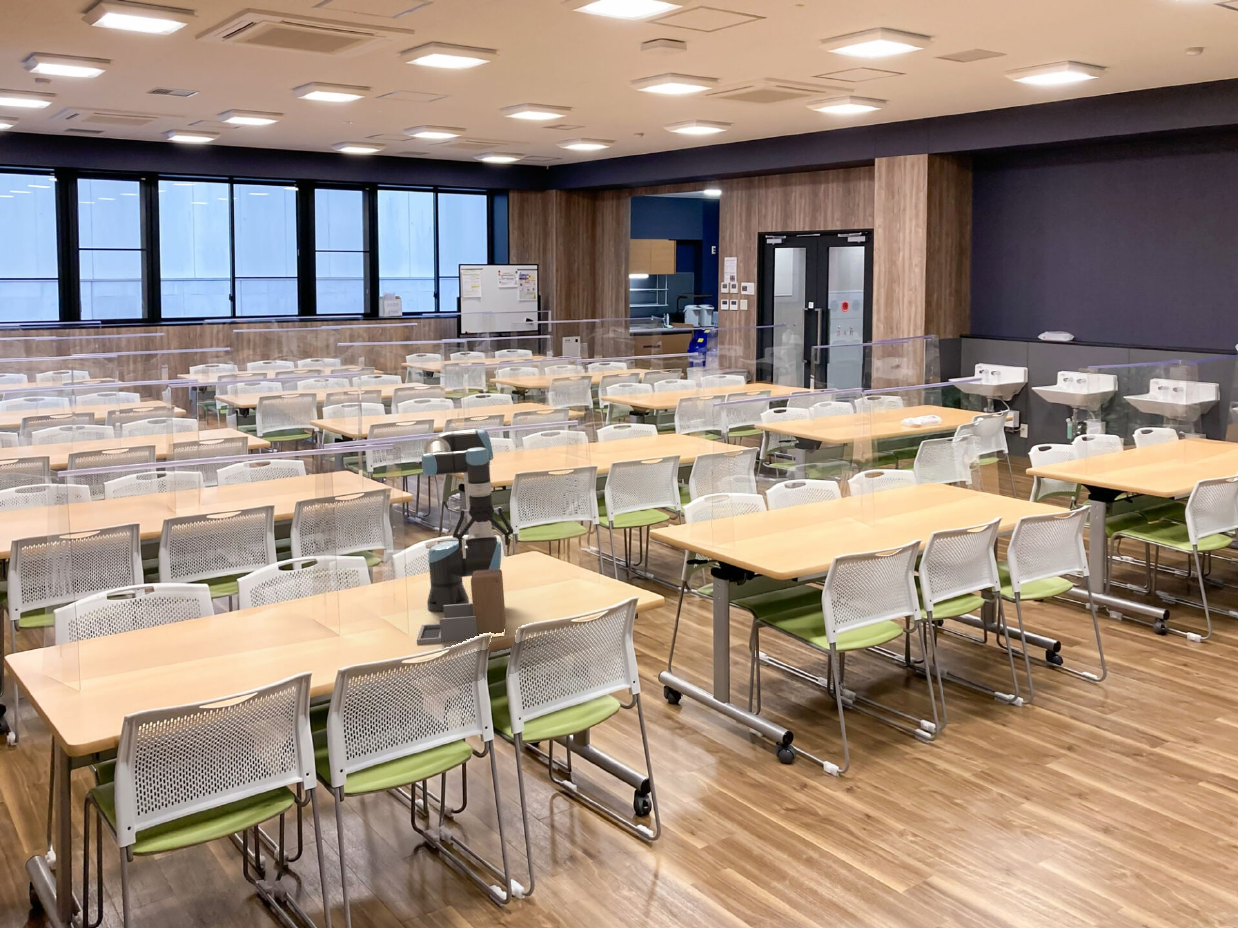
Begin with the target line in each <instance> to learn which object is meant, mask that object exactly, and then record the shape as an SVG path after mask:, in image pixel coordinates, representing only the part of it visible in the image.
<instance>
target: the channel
mask: <svg viewBox="0 0 1238 928" xmlns="http://www.w3.org/2000/svg"><path fill="white" fill-rule="evenodd" d="M443 608H444V612H443V618H439V619H438V620H439V624H440V632H441V643H452V642H453V643H454V641H456V642H466V641H465V640H466V639H470V638H474V637H475V636H478V634H477V624H476V616H473V603H470V602H469V604H454V605H443Z"/></svg>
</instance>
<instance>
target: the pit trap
mask: <svg viewBox="0 0 1238 928" xmlns="http://www.w3.org/2000/svg"><path fill="white" fill-rule="evenodd" d="M437 643H439V644H440V643H442V642H441V632H440V623H430V624H421V626H420V628H419V632H418V635H417V639H416V644H417V645H424V644H425V645H426V644H437Z"/></svg>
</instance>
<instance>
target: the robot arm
mask: <svg viewBox="0 0 1238 928" xmlns="http://www.w3.org/2000/svg"><path fill="white" fill-rule="evenodd" d="M423 448H424V449H423V454H421V468H422V474H423V475H424V476H429V477H431V476H433V477H435V476H442V475H452V474H454V475H455V474H463V481H464V495H465V504H466V505H465V506H466V507H465V508H466V509H464V508H461V510H460V516H459V519H458V522H457V524H456V526H455V529H454V531H453V533H452V538H454V539H457V540H448V541H443V542H440V543H436V544H435V545H433V546H431V547H430V548H429V549H428V553H427V554H428V559H427V562H428V568H429V569H428V570H429V581H430V589H429V593H428V597H427V609H428V610H430V611H433V612H443V613H444V608H443V605H454V604H469V603H470V599H469V595H468V593H467V590H466V588H465V586H464V584H463V578H465V577H466V578H467V577H472V575H473V572H474V571H478V570H495V569H500V570H501V564H502V563H501V561H502V560H501V559H502V547H503V556H504V557H505V556H507V546H509V545H510V539H509V536H511V535H513V534H514V531H515V530H514V529H513V527H512V525H511V524H510V521H509V520H508V519H507V517H506V515H505V514H504V512H503V507H502V506H498V507H496V508H495V507H493V496H492V494H491V493H492V482H491V481H492V480H491V469H490V468H491V467H490V465H491V461H493V460H494V453H493V452H494V451H493V446H492V442H491V438H490V435H489V432H488V430H485V429H466V430H456V431H445V432H442V433H438V434H436V435H433V437H431V438H430V439H429V440H428V441H427V442H426V443H425V445H424V447H423ZM494 513H495V514H496V515H498V516H499V517H500V519H501V521H502V522H503V524H504V526H505V527H506V528H505V527H504V526H503V525H502V524H501V523H500V522H499V521H498V520H497V519H496V518H495V517H494V516H493V515H494ZM465 517H467V523H466V525H465V527H464V528H463V529H462V530H461V532H460V528H461V527H462V524H463V521H464V519H465ZM492 525H493V526H494V527H495V528H497V530H498V531H499V532H501V534H502V542H501V541H498V538H497V535H495V534H494V533H493V527H492ZM459 532H460V533H459ZM467 532H468V536H467V537H466V538H465V537H464V536H465V535H466V534H467Z"/></svg>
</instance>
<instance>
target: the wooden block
mask: <svg viewBox="0 0 1238 928" xmlns="http://www.w3.org/2000/svg"><path fill="white" fill-rule="evenodd" d="M470 589H471V602H472V603H473V616H476V624H477V635H478V634H483V633H489V632H491V633H502V632H504V629H505V624H506V625H507V621H506V619H507V618H506V605H505V596H504V595H505V594H504V592H505V591H504V579H503V571H502V569H501V568H500V569H495V570H478V571H474V572H473V575H472V576H471V579H470ZM505 630H506V629H505Z"/></svg>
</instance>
